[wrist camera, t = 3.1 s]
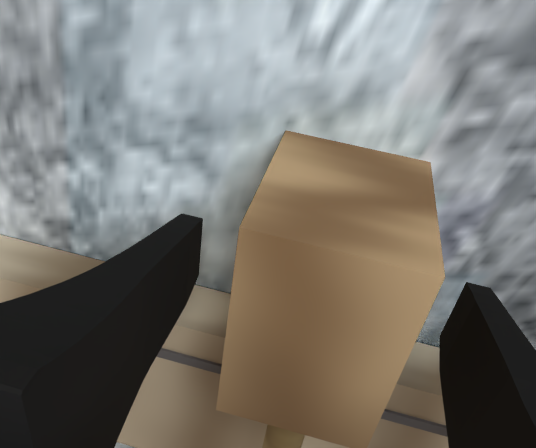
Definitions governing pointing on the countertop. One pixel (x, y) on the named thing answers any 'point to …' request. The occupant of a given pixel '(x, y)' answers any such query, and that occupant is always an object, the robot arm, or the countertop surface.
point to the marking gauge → (329, 290)
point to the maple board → (209, 370)
